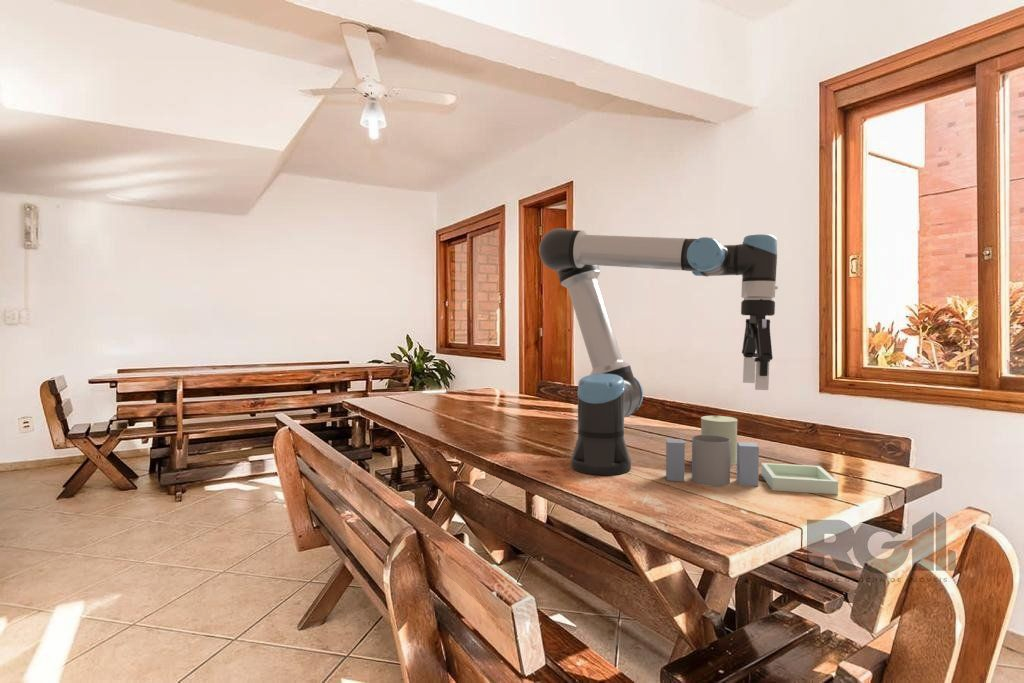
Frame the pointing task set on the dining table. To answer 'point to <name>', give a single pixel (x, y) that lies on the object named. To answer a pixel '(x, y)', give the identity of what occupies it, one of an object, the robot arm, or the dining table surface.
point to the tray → (799, 478)
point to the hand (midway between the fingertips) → (754, 386)
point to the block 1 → (675, 459)
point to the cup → (711, 460)
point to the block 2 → (747, 463)
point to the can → (722, 431)
